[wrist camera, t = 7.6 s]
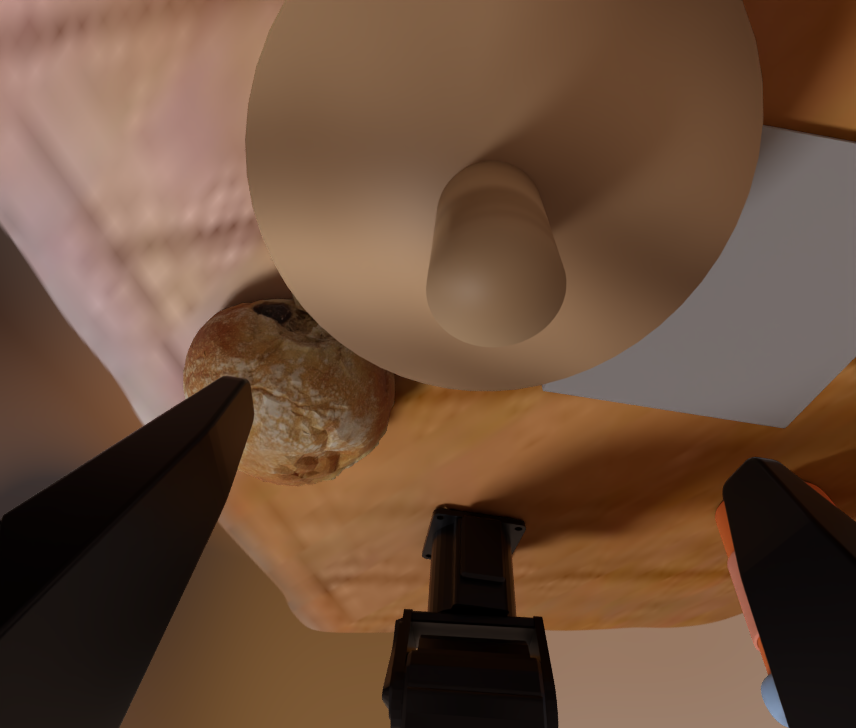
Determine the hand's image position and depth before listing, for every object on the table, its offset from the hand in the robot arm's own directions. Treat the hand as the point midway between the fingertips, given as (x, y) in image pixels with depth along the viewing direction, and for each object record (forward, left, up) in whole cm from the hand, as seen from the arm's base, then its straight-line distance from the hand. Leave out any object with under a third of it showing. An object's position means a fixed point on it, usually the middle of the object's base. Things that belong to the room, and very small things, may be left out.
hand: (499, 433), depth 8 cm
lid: (+1, 0, -8) cm, 8 cm away
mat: (-3, -12, -12) cm, 17 cm away
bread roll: (-11, +7, -13) cm, 18 cm away
